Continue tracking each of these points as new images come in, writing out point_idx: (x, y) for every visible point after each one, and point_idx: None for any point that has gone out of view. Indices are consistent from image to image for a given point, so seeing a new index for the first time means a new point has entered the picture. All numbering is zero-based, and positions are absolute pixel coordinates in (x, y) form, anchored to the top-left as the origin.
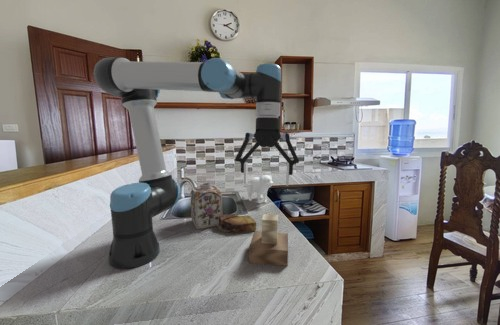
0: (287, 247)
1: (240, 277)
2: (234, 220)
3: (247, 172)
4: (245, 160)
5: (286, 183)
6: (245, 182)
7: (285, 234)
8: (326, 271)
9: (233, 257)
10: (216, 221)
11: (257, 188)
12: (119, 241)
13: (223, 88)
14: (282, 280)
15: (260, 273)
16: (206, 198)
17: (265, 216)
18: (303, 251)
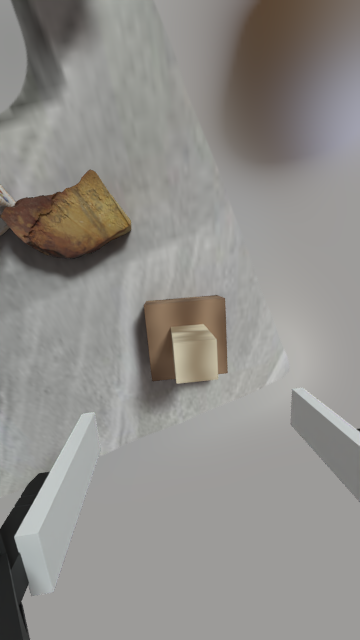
0: (226, 361)
1: (151, 407)
2: (62, 232)
3: (76, 455)
4: (27, 635)
5: (298, 430)
6: (97, 454)
7: (219, 305)
8: (279, 359)
9: (120, 360)
10: (3, 221)
11: None
12: None
13: None
14: (213, 397)
15: (178, 390)
16: None
17: (182, 359)
18: (247, 306)
